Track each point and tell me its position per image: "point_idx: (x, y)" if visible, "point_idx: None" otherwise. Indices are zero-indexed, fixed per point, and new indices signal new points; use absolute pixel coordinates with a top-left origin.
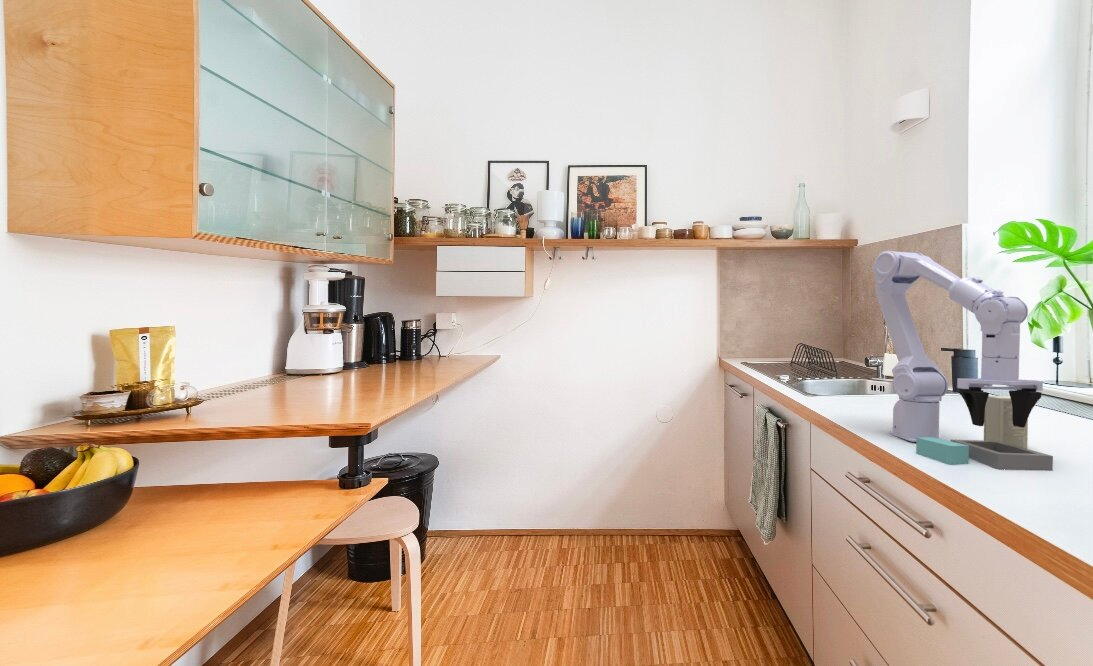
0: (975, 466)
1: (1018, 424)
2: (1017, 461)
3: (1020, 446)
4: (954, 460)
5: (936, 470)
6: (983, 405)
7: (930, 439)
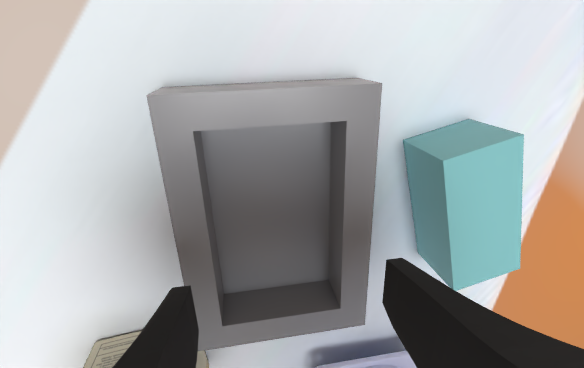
0: (392, 126)
1: (192, 311)
2: (297, 84)
3: (111, 359)
4: (466, 126)
5: (568, 33)
6: (487, 329)
7: (497, 247)
